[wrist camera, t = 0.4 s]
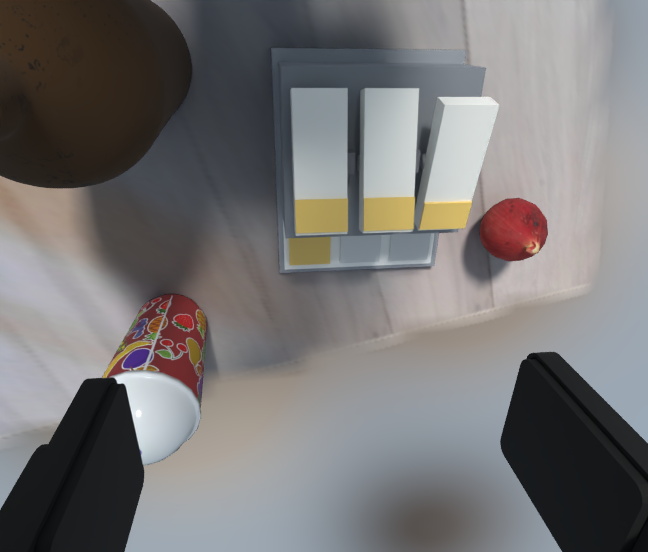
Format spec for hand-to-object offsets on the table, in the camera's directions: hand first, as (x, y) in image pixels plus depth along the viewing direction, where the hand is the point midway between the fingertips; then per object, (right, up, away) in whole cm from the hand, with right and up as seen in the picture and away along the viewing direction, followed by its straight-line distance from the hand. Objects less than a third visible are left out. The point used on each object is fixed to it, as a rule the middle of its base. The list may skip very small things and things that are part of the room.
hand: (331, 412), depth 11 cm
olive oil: (-15, +20, +24) cm, 35 cm away
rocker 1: (-1, +12, +23) cm, 25 cm away
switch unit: (+3, +13, +31) cm, 33 cm away
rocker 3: (+9, +12, +24) cm, 28 cm away
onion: (+17, +9, +35) cm, 40 cm away
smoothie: (-16, -1, +36) cm, 39 cm away
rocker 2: (+4, +12, +23) cm, 26 cm away
